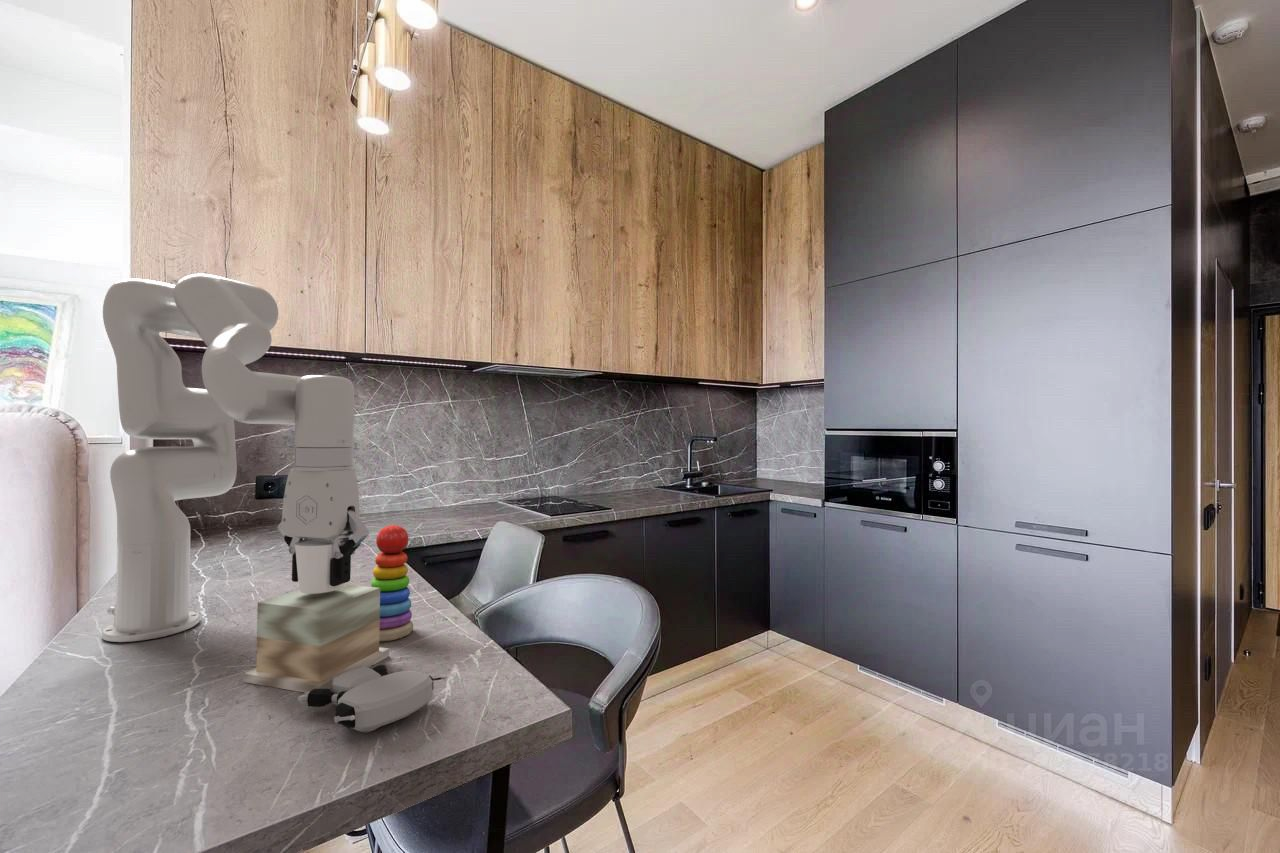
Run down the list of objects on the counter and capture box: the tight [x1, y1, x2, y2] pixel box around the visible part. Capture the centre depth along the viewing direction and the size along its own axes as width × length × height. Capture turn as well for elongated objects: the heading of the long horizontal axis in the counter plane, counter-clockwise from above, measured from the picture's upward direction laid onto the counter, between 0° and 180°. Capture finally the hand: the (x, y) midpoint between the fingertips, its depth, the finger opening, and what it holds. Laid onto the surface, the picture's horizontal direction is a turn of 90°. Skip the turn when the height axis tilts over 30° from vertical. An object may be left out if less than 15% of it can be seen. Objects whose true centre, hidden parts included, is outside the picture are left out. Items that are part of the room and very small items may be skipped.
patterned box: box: [243, 583, 390, 694], centre depth 80 cm, size 13×13×11 cm
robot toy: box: [297, 664, 449, 733], centre depth 68 cm, size 12×4×15 cm
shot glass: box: [295, 539, 345, 594], centre depth 80 cm, size 7×7×7 cm
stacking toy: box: [370, 524, 414, 642], centre depth 93 cm, size 8×8×19 cm
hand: (321, 580), depth 80 cm, fingers closed on shot glass, 6 cm apart
